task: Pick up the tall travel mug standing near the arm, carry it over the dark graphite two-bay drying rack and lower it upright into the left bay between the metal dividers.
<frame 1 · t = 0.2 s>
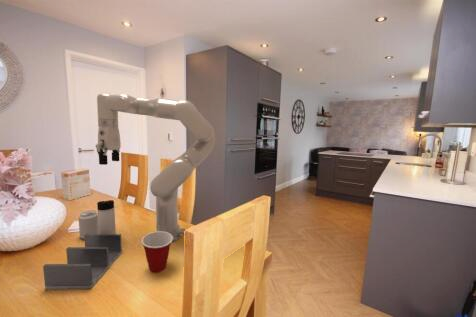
hand: (109, 162, 98), 36 cm above the table, tool pointing down, fingers open, 9 cm apart
can: (89, 236, 104), on the table
travel mug: (108, 244, 98), on the table
coffeecake box: (77, 197, 160), on the table
plastic cup: (158, 268, 82), on the table
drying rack: (88, 268, 81), on the table
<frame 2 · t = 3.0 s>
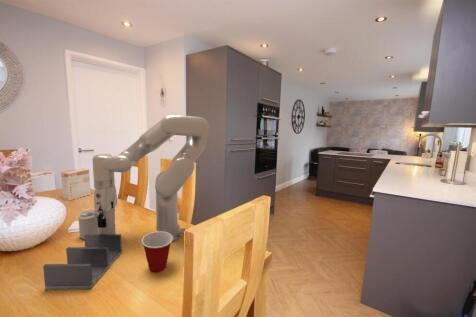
hand: (106, 223, 96), 10 cm above the table, tool pointing down, fingers closed on travel mug, 6 cm apart
travel mug: (108, 244, 98), on the table, touching gripper
everything else where it was.
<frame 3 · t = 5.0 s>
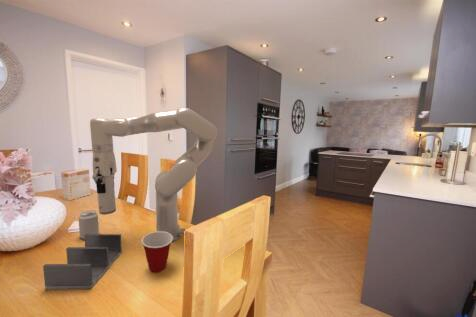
hand: (106, 190, 95), 24 cm above the table, tool pointing down, fingers closed on travel mug, 6 cm apart
travel mug: (107, 212, 96), point 15 cm above the table, touching gripper
everything else where it was.
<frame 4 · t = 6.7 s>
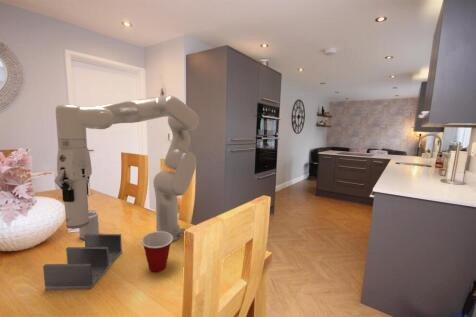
hand: (76, 197, 74), 28 cm above the table, tool pointing down, fingers closed on travel mug, 6 cm apart
travel mug: (78, 225, 75), point 18 cm above the table, touching gripper
everything else where it was.
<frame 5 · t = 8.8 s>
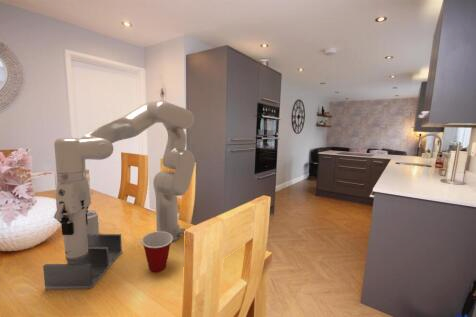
hand: (75, 229, 74), 18 cm above the table, tool pointing down, fingers closed on travel mug, 6 cm apart
travel mug: (77, 256, 75), point 8 cm above the table, touching gripper
everything else where it was.
when the fingers open (11 cm above the table, at t = 10.5 s): travel mug stays where it is, resting on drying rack.
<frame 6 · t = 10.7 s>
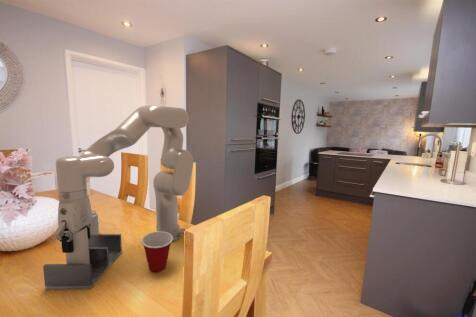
hand: (77, 244, 74), 12 cm above the table, tool pointing down, fingers open, 8 cm apart
travel mug: (79, 275, 76), point 1 cm above the table, touching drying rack
everything else where it was.
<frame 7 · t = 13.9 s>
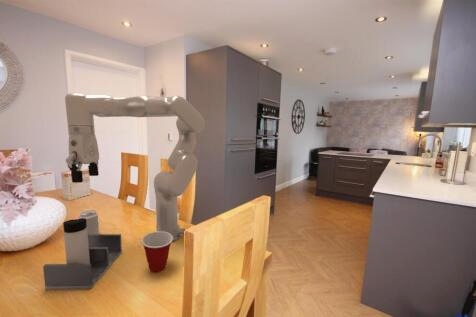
hand: (86, 178, 80), 33 cm above the table, tool pointing down, fingers open, 9 cm apart
nothing on the table moved.
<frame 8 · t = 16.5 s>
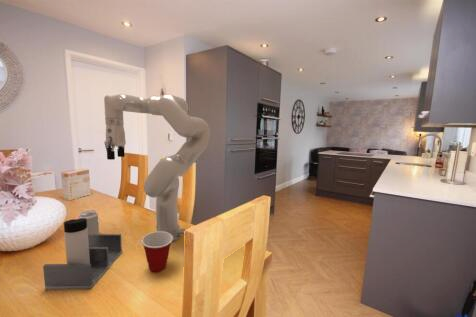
hand: (116, 158, 108), 36 cm above the table, tool pointing down, fingers open, 9 cm apart
nothing on the table moved.
at the end: travel mug inside the target area on the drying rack (0.1 cm from its centre), point 0.8 cm above the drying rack's base; travel mug tilted 0°; the gripper is holding nothing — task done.
